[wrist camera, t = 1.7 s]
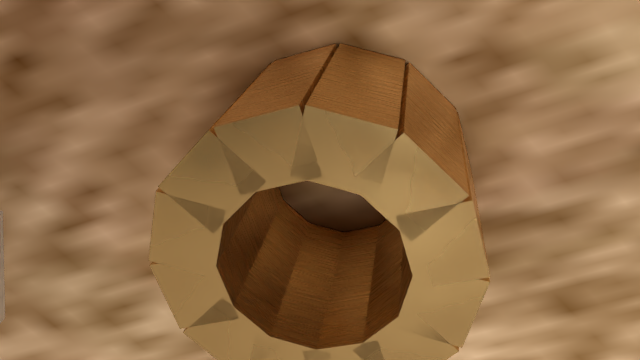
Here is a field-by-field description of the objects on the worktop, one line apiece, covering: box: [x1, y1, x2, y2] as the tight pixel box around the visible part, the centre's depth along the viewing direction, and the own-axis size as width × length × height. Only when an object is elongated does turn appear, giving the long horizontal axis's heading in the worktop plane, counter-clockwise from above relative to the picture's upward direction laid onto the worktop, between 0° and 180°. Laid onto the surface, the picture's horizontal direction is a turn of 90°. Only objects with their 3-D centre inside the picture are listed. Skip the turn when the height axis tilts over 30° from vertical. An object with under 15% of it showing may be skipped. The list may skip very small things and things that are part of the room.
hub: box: [149, 43, 490, 360], centre depth 17 cm, size 8×8×6 cm
